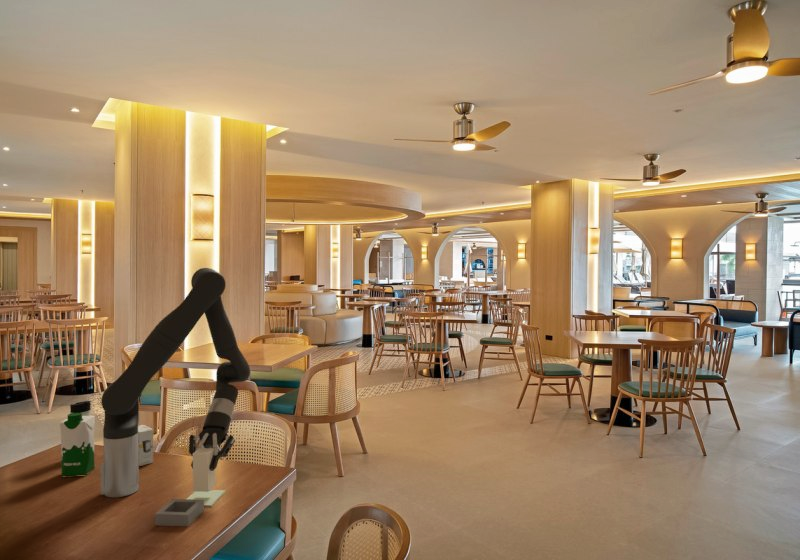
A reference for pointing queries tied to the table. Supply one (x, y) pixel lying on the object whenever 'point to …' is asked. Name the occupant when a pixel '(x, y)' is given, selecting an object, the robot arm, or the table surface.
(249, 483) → the table surface
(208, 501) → the mat
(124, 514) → the table surface
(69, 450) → the milk carton
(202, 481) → the cream carton
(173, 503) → the grey square frame
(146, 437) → the ink box
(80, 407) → the travel mug
